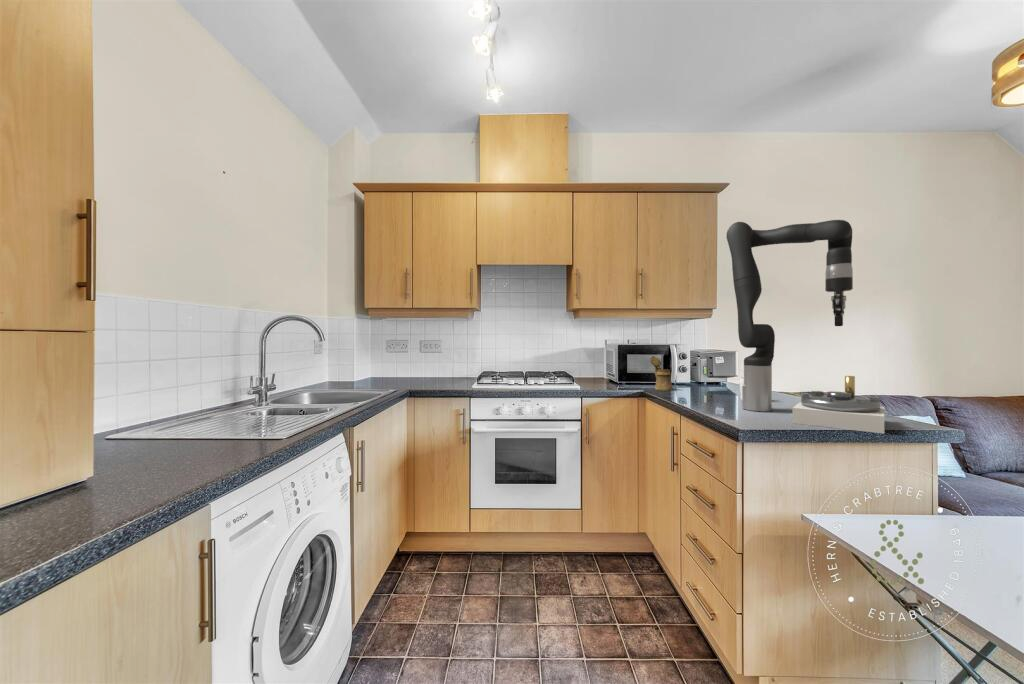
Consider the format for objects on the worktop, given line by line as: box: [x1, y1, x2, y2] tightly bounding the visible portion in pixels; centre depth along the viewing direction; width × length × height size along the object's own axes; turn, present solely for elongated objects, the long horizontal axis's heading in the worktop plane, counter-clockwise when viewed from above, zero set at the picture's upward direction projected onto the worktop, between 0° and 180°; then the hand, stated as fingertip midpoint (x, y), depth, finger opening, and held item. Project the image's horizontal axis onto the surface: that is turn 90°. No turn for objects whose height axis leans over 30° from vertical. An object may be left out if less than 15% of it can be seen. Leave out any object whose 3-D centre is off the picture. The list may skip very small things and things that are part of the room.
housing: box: [792, 401, 885, 434], centre depth 131 cm, size 22×22×5 cm
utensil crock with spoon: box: [650, 355, 674, 392], centre depth 217 cm, size 9×14×18 cm, turn 19°
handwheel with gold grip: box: [800, 375, 881, 412], centre depth 131 cm, size 20×20×10 cm
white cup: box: [738, 376, 744, 401], centre depth 178 cm, size 8×8×10 cm
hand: (838, 326), depth 142 cm, fingers closed
